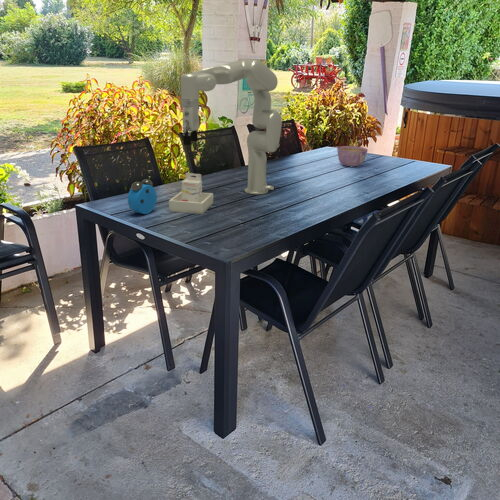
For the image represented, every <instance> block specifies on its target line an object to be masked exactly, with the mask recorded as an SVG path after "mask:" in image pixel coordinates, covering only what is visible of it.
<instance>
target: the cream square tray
mask: <svg viewBox="0 0 500 500" xmlns="http://www.w3.org/2000/svg"><path fill="white" fill-rule="evenodd" d="M213 204H214V193H213V192H202V202H201V203H198V202H186V201H182V190H181V191H179V192H178V193H177V194H176V195H174V196H173V197H172V198H170V199H169V200H168V211H169V212H174V213H175V212H176V213H183V214H184V213H185V214H186V213H187V214H196V215H198V214H200V215H203V214H204V213H205V212H206V211H207V210H208V209H209V208H210V207H212V206H213Z"/></svg>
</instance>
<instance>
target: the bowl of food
mask: <svg viewBox="0 0 500 500" xmlns="http://www.w3.org/2000/svg"><path fill="white" fill-rule="evenodd" d="M336 149H337V157H338V161H339V162H340V164H341V165H346V166H357V167H358V166H361V165H362V164H363V163H364V161H365V159H366V156H367V153H368V151H369V150H368V148H366V147H362V146H356V145H355V146H354V145H353V146H352V145H342V146H338V147H336ZM346 166H345V167H346Z"/></svg>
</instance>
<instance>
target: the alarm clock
mask: <svg viewBox="0 0 500 500" xmlns="http://www.w3.org/2000/svg"><path fill="white" fill-rule="evenodd" d="M157 197H158V196H157V191H156V189H155V188H154V186H153V182H152V181H151V180H150V179H149V178H148V179H147V178H146V179H143V180H141V181H135V182H133V183H132V184H131V188H130V190H129V192H128V195H127V203H128V207H129V209H130V210H131V212H134V215H136V214H137V213H138V214H142V215H148V214H150V213H151V212H152V211H154V209H155V207H156V204H157V200H158V198H157Z"/></svg>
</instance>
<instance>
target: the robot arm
mask: <svg viewBox="0 0 500 500" xmlns="http://www.w3.org/2000/svg"><path fill="white" fill-rule="evenodd" d="M244 79H245V81H246V84H247V87H248V88H249V89H250V90H251V93H252V94H253V97H254V98H253V99H254V102H253V112H252V125H253V127H255V128H258V129H262V130H266V131H261V130H252V131H251V132H249V134H248V135H247V137H246V146H247V151H248V154H247V155H248V161H247V163H248V164H247V165H248V166H247V187H245V188H244V193H247V194H248V195H249V194H251V195H265V194H268V193H269V191H271V190H272V191H274V188H275V186H273V185H269V184H268V182H267V158H268V157H267V154H266V153H274V152H277V150H278V148H279V145H280V139H281V134H282V124H283V118H282V115H281V114H280V113H279V112H278V111H277V110H271V107H272V95H271V93H270V92H273V91H275V89H276V88H277V87H278V82H279V81H278V77H277V75H276V74H275V73H274V72H273V71H272V69H270V68H269V67H268V66H267V65H266V64H264V63H263V62H262V61H261V60H259V59H256V58H253V59H252V58H242V59H238V60H234V61H231V62H228V63H225V64H222V65H216V66H212V67H206V68H203V69H202V68H201V69H199V70H195V71H193V72H191V73H182V74H181V76H180V97H181V101H180V103H181V108H182V129H183V132H182V133H183V134H182V136H183V145H184V146H191V145H192V142H198V139H199V138H198V135H199V134H198V129H199V128H200V117H199V116H200V114H199V108H200V107H199V106H200V105H199V103H200V101H199V95H200V94H199V91H201V92H210V91H211V92H212V91H213V90H214V89H215V88H216V85H229V84H233V83H235V82H239V81H241V80H244Z"/></svg>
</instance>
